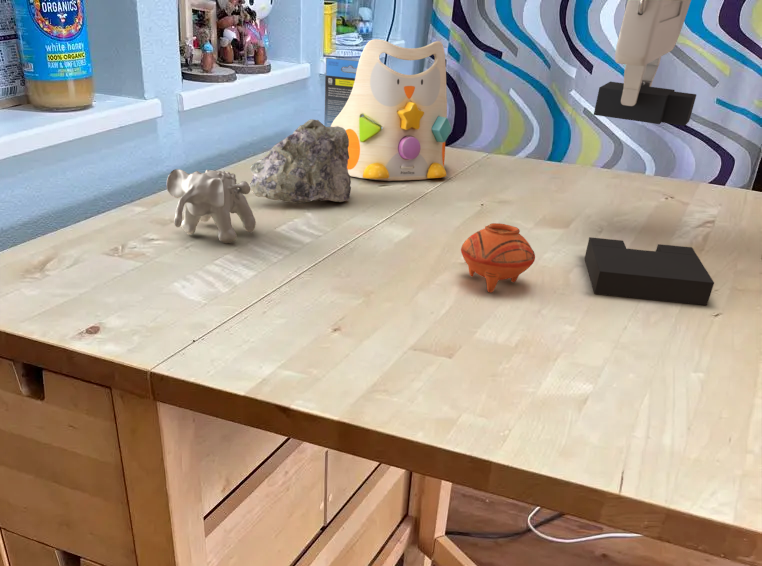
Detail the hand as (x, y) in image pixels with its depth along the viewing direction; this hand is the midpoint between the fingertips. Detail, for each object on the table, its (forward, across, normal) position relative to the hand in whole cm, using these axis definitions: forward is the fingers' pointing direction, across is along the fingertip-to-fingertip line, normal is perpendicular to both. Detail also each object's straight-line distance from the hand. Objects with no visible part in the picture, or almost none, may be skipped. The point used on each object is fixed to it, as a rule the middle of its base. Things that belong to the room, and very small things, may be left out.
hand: (634, 100), depth 99 cm
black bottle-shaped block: (+2, 0, -1) cm, 2 cm away
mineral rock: (+15, -15, +38) cm, 44 cm away
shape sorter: (+15, +7, +34) cm, 38 cm away
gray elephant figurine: (+15, -36, +38) cm, 55 cm away
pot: (+15, -30, +6) cm, 34 cm away
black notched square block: (+15, -19, -8) cm, 25 cm away
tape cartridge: (+15, +24, +50) cm, 58 cm away
